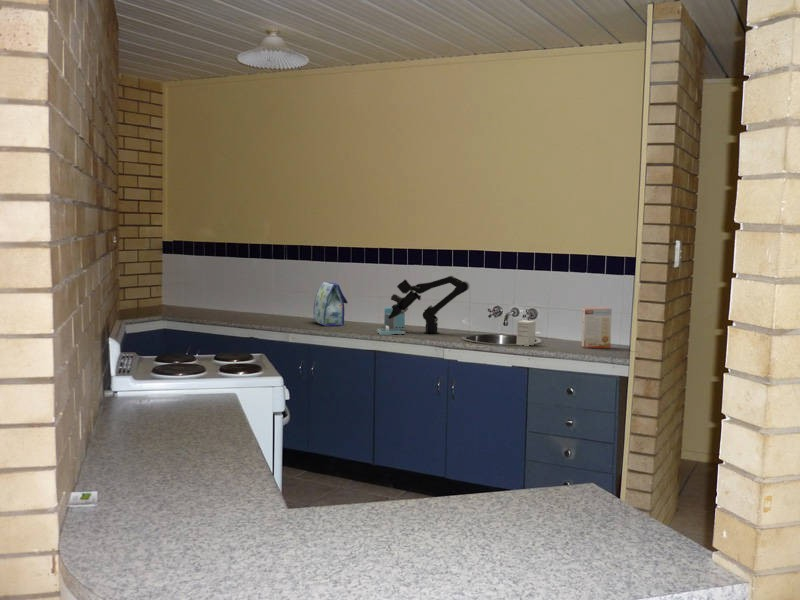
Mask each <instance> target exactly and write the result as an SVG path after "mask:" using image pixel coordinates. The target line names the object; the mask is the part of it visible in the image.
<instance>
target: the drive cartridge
mask: <svg viewBox="0 0 800 600" xmlns="http://www.w3.org/2000/svg"><path fill="white" fill-rule="evenodd" d="M384 315H385V325H384V329H386V326H389V329H396V328H395V321H396V316H395V317H393V318H391V319H389V318H388V317H389V316H390V314H385V313H384Z"/></svg>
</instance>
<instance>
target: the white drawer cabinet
mask: <svg viewBox="0 0 800 600" xmlns="http://www.w3.org/2000/svg"><path fill="white" fill-rule="evenodd" d="M534 344H536V321H535V320H527V319H524V320H518V321H516V345H517V346H522V345H524V347H530V346H529V345H531V346H534Z"/></svg>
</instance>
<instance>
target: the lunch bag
mask: <svg viewBox="0 0 800 600" xmlns="http://www.w3.org/2000/svg"><path fill="white" fill-rule="evenodd" d="M341 289H342V288H341V287H340V285H339V284H338V283H335V282H330V281H329V282H328V281H323V282H322V284H321V285H320V287H319V288H318V290H317V292H316V295H315V299H314V305H313V322H314V323H317V324H320V325H322V326H324V327H329V326H339V325H343V326H344V325H345V304H348V300H347V298H346V297H345V296H344V294H343V291H342V290H341Z"/></svg>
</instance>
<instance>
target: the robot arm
mask: <svg viewBox="0 0 800 600" xmlns="http://www.w3.org/2000/svg"><path fill="white" fill-rule="evenodd" d="M447 284H450V285H453V286H454V287H455V288H454V289H453V290H452V291H451V292H450V293H449V294H447V295H446V296H445V297H444V298H443V299H441V300H440V301H439V302H437V303H436V304H435V305H428V306H427V308H426V309H424V312H423V313H422V318H423V319H424V320H425V329H424V330H425V331H424V332H423V333H425V334H429V333H431V334H430V335H434V334H433V333H435V334H440V332H439V331H438V320H439V318H438V317H437V314H438V313H439V312H440V310H441V309H443V308H444V307H446V306H447V305H448V304H449V303H450V302H452V301H453V300H454V299H455V298H456V297H458V296H460V295H461V294H463V293H465V292H467V291H469V289H470V283H469V282H468V281H466V280H461V279H460V278H456V277H455V276H453V275H448V276H446V277H443V278H441V279H437V280H434V281H429V282H421V283H417V284H416V285H411V284H410V282H408V280H407V279H403V280H402V281H401V282H400V283H399V284H398V285H397V286H396V288H398V290H399V291H400V292H401V293H402V294H405V296H404V297H402V296H400V295H397V293H393V294H392V295H391V298H390V300H391V301H393V302H396V304H395V303H394V304H393V305H392V306H391V307H392V308H393V311H392V313H391V314H390V316H389V317H388V318H389V319H391V318H393V317H395V316H398V315H400V314H402V313H404V312H405V313H407V311H408V310H409V307H410V306H412V304H413V303H414V302H415V301H416V300H418V301H421V300H422V295H420V294H424V293H426V292H427V291H429V290H432V289H433V288H438V287H441V286H445V285H447ZM403 311H404V312H403Z"/></svg>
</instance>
